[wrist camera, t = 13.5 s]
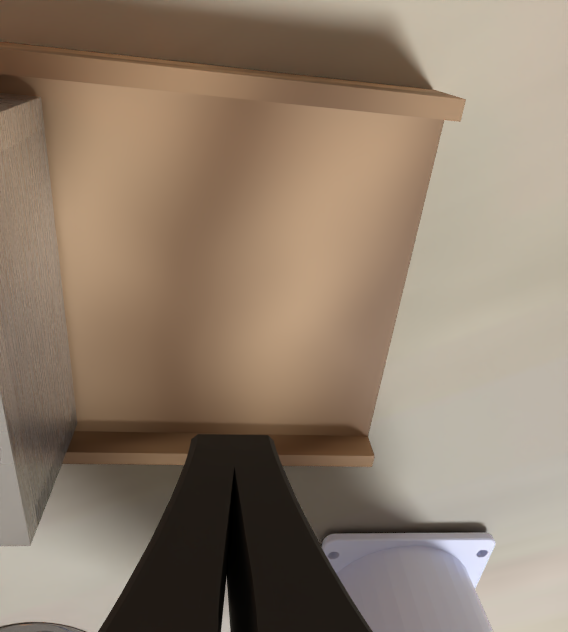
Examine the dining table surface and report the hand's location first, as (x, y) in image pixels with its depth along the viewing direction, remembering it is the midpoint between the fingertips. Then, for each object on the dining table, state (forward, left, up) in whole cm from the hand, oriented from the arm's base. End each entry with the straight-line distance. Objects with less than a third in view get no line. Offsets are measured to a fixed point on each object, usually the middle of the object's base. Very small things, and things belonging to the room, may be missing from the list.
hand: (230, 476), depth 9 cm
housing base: (0, +4, -8) cm, 9 cm away
